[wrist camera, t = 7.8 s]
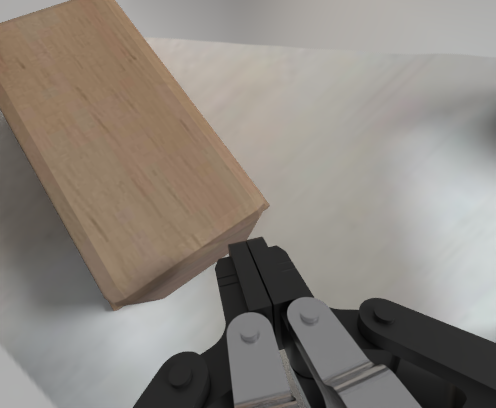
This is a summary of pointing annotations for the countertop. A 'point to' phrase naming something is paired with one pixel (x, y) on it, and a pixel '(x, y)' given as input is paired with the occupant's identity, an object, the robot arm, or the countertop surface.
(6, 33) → the block
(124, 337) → the countertop surface
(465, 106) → the countertop surface
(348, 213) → the countertop surface
